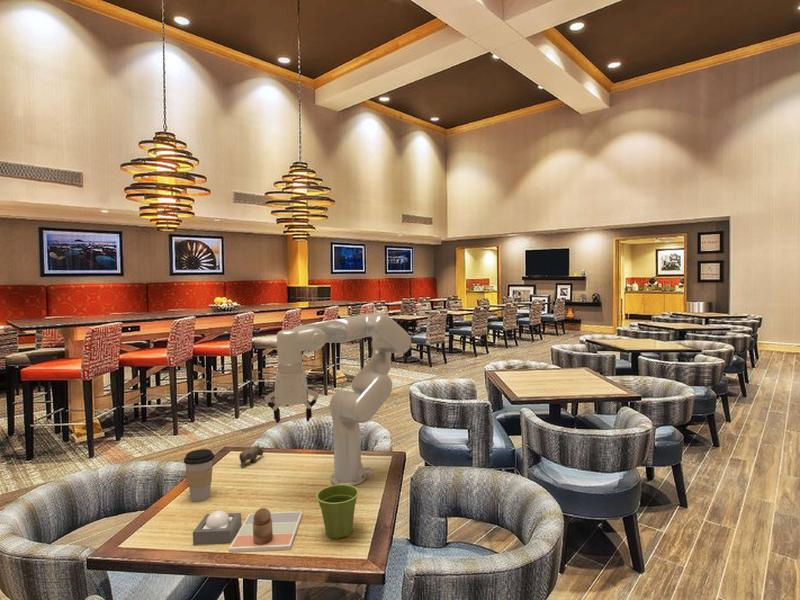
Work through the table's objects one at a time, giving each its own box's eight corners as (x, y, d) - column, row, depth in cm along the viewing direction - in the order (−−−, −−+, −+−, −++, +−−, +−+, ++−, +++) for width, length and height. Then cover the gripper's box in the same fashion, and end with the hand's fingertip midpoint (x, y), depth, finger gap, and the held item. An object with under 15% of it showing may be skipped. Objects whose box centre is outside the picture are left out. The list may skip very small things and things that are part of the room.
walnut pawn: (274, 534, 130) (273, 504, 130) (270, 544, 125) (269, 513, 125) (256, 535, 130) (254, 505, 129) (251, 545, 125) (250, 514, 124)
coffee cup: (186, 507, 150) (184, 460, 149) (184, 495, 158) (182, 451, 158) (217, 500, 154) (215, 454, 154) (214, 489, 163) (212, 446, 162)
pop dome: (233, 527, 136) (232, 505, 136) (226, 539, 130) (225, 516, 130) (210, 528, 136) (210, 506, 136) (202, 540, 130) (201, 517, 129)
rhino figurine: (269, 456, 193) (268, 442, 193) (244, 469, 181) (243, 453, 180) (261, 455, 195) (260, 441, 195) (236, 467, 182) (235, 452, 182)
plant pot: (321, 522, 138) (320, 484, 138) (362, 521, 138) (361, 483, 137) (313, 544, 126) (311, 503, 126) (357, 544, 126) (356, 502, 126)
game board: (302, 514, 143) (302, 510, 143) (290, 549, 124) (290, 545, 124) (249, 516, 143) (249, 513, 143) (228, 552, 124) (228, 548, 124)
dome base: (241, 524, 138) (241, 512, 138) (230, 543, 128) (230, 530, 128) (206, 526, 138) (206, 514, 138) (193, 544, 128) (192, 532, 128)
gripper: (260, 372, 147) (263, 426, 148) (316, 369, 148) (318, 423, 149) (265, 367, 155) (268, 419, 155) (318, 364, 156) (321, 416, 156)
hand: (293, 420), depth 152 cm, fingers open, 9 cm apart
